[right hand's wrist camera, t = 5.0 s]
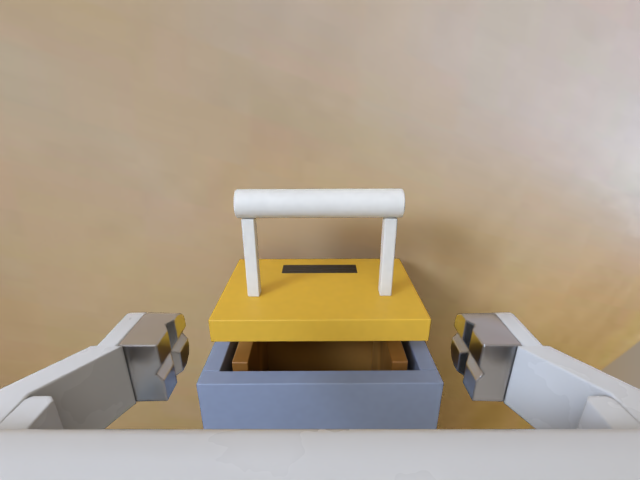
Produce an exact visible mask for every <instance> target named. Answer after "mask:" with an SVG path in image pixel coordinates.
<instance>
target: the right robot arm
mask: <svg viewBox="0 0 640 480" xmlns="http://www.w3.org/2000/svg"><path fill="white" fill-rule="evenodd" d="M185 326H186V324H185V319H184V316H183V315H182V314H181V313H146V312H136V313H128V314H126V316H125V317H124V318H123V319H122V320H121V321H120V322H119V323H118V324H117V325H116V326H115V327H114V328H113V329H112V331H111V332H110V333H109V334H108V335H107V336H106V337H105V338H104V339H103V340H102V341H101V342H100V343H99V344H98V345H97V346H90V347H88V348H86V349H84V350H82V351H80V352H78V353H76V354H73V355H71V356H69V357H67V358H65V359H63V360H61V361H59V362H57V363H54V364H52V365H50V366H48V367H46V368H44V369H42V370H40V371H37V372H35V373H33V374H31V375H29V376H27V377H25V378H23V379H21V380H18V381H16V382H14V383H12V384H10V385H8V386H6V387H4V388H2V389H0V480H640V389H638V388H636V387H634V386H632V385H630V384H628V383H626V382H623V381H621V380H619V379H617V378H615V377H613V376H611V375H609V374H607V373H604V372H602V371H600V370H598V369H596V368H594V367H592V366H590V365H588V364H586V363H583V362H581V361H579V360H577V359H575V358H573V357H571V356H569V355H567V354H564V353H562V352H560V351H558V350H556V349H554V348H552V347H550V346H543V345H542V344H541V343H540V342H539V341H538V340H537V339H536V338H535V337H534V336H533V335H532V334H531V333H530V332H529V330H528V329H527V328H526V327H525V326H524V325H523V324H522V323H521V322H520V321H519V320H518V319H517V318H516V317H515V315H514V314H512V313H509V312H501V313H470V314H457V316H456V318H455V324H454V326H455V328H456V330H457V331H458V333H457V334H456V335H455V336H454V337H453V338H452V343H451V355H452V360H453V363H454V366H455V368H456V370H457V371H458V372H459V373H461V374H462V375H464V379H463V383H464V385H465V387H466V389H467V391H468V393H469V395H470V397H471V399H472V401H504V403H505V404H506V405H507V406H508V407H510V408H511V409H512V410H513V411H514V412H516V413H517V414H518V415H519V416H521V417H522V418H523V419H524V420H526V421H527V422H528V423H529V424H530V425H532V426H533V427H534V428H535V429H105V428H106V427H107V426H108V425H110V424H111V423H112V422H113V421H115V420H116V419H117V418H118V417H120V416H121V415H122V414H123V413H124V412H126V411H127V410H128V409H129V408H131V407H132V406H133V405H134V404H136V401H168V399H169V397H170V395H171V393H172V391H173V389H174V387H175V385H176V383H177V379H176V375H178V374H179V373H181V372H182V371H183V370H184V368H185V366H186V364H187V360H188V355H189V342H188V338H187V337H186V336H185V335H184V334H183V333H182V331H183V330H184V328H185Z"/></svg>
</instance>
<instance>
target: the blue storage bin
mask: <svg viewBox="0 0 640 480" xmlns="http://www.w3.org/2000/svg"><path fill="white" fill-rule="evenodd" d="M238 343H239V342H215V343H214V346H213V348H212V350H211V352H210V355H209V357H208V359H207V362H206V364H205V366H204V368H203V371H202V373H201V375H200V377H199V380H198V382H197V384H196V385H197V391H198V397H199V403H200V409H201V415H202V421H203V427H204V429H436V428H437V422H438V415H439V409H440V403H441V397H442V390H443V384H444V383H443V381H442V379H441V376H440V374H439V372H438V370H437V368H436V365H435V363H434V361H433V359H432V356H431V354H430V352H429V350H428V348H427V345H426V343H425V341H401V343H402V346H403V349H404V352H405V355H406V357H407V360H408V367H407V370H392V371H233V368H232V361H233V358H234V355H235V352H236V349H237V346H238Z"/></svg>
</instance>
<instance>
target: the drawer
mask: <svg viewBox="0 0 640 480" xmlns="http://www.w3.org/2000/svg"><path fill="white" fill-rule="evenodd" d="M404 210H405V194H404V191H403V189H237V190H236V191H235V194H234V212H235V215H236V217H237V218H242V220H241V222H242V234H243V245H244V257H245V259H240V260H239V262H238V264H237V266H236V268H235V270H234V272H233V273H232V275H231V277H230V279H229V281H228V283H227V285H226V287H225V289H224V291H223V293H222V295H221V297H220V299H219V301H218V303H217V305H216V307H215V309H214V311H213V312H212V314H211V316H210V318H209V320H208V321H209V329H210V336H211V341H212V342H239V343H238V346H237V349H236V352H235V355H234V358H233V361H232V368H233V371H392V370H407V367H408V360H407V357H406V355H405V352H404V349H403V346H402V343H401V341H428V340H429V332H430V325H431V318H430V316H429V314H428V313H427V311H426V309H425V307H424V305H423V303H422V301H421V299H420V297H419V295H418V293H417V292H416V290H415V288H414V286H413V284H412V282H411V280H410V278H409V276H408V274H407V273H406V271H405V269H404V267H403V265H402V263H401V261H400V259H394V256H395V244H396V231H397V218H400V217H402V216H403V214H404ZM256 218H383V224H382V240H381V255H380V259H259V253H258V239H257V225H256Z"/></svg>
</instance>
